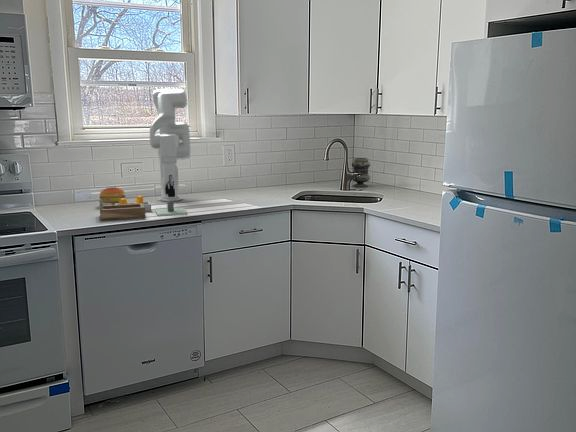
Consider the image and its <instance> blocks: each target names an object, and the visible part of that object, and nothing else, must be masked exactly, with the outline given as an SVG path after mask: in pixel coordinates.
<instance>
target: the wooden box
mask: <svg viewBox="0 0 576 432" xmlns="http://www.w3.org/2000/svg"><path fill="white" fill-rule="evenodd" d="M99 217H100V222H105V221H106V220H108V221H119V220H132V219H133V220H134V219H135V220H136V219H146V212H145V207H144V205H143V203H137V204H120V205H103V204H102V200H100V199H99Z"/></svg>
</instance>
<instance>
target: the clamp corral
mask: <svg viewBox="0 0 576 432" xmlns="http://www.w3.org/2000/svg"><path fill="white" fill-rule="evenodd" d="M127 203H128V204H134V203H135V202H127ZM143 204H144V207H145V213H146V212H152V204H151V202H150V201H143ZM115 205H120V203H115Z"/></svg>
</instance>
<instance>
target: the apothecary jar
mask: <svg viewBox="0 0 576 432" xmlns="http://www.w3.org/2000/svg"><path fill="white" fill-rule="evenodd" d="M351 166H352V168H353V171H352V172H356V173H362V175H360V176H358V177H356V178H355V179H353V180H352V181H353V182H355V184H352V187H353V186H356V187H355V188H368V187H369V185H368V184H366V183H367V182H369V181H370V180H371V176H370V174H369V167H371V163H370V162H369V158H367V157H354V159H353V162H351Z"/></svg>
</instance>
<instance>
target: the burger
mask: <svg viewBox="0 0 576 432" xmlns="http://www.w3.org/2000/svg"><path fill="white" fill-rule="evenodd" d="M126 196H127V195H126V193H125V191H124V190H123V189H121V188H119V187H115V186H113V187H106V188H105V189H104V188H103V190H101V191H100V193H99V200H102V204H103V205H115V203H120V199H122V198H124V199H126Z"/></svg>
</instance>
